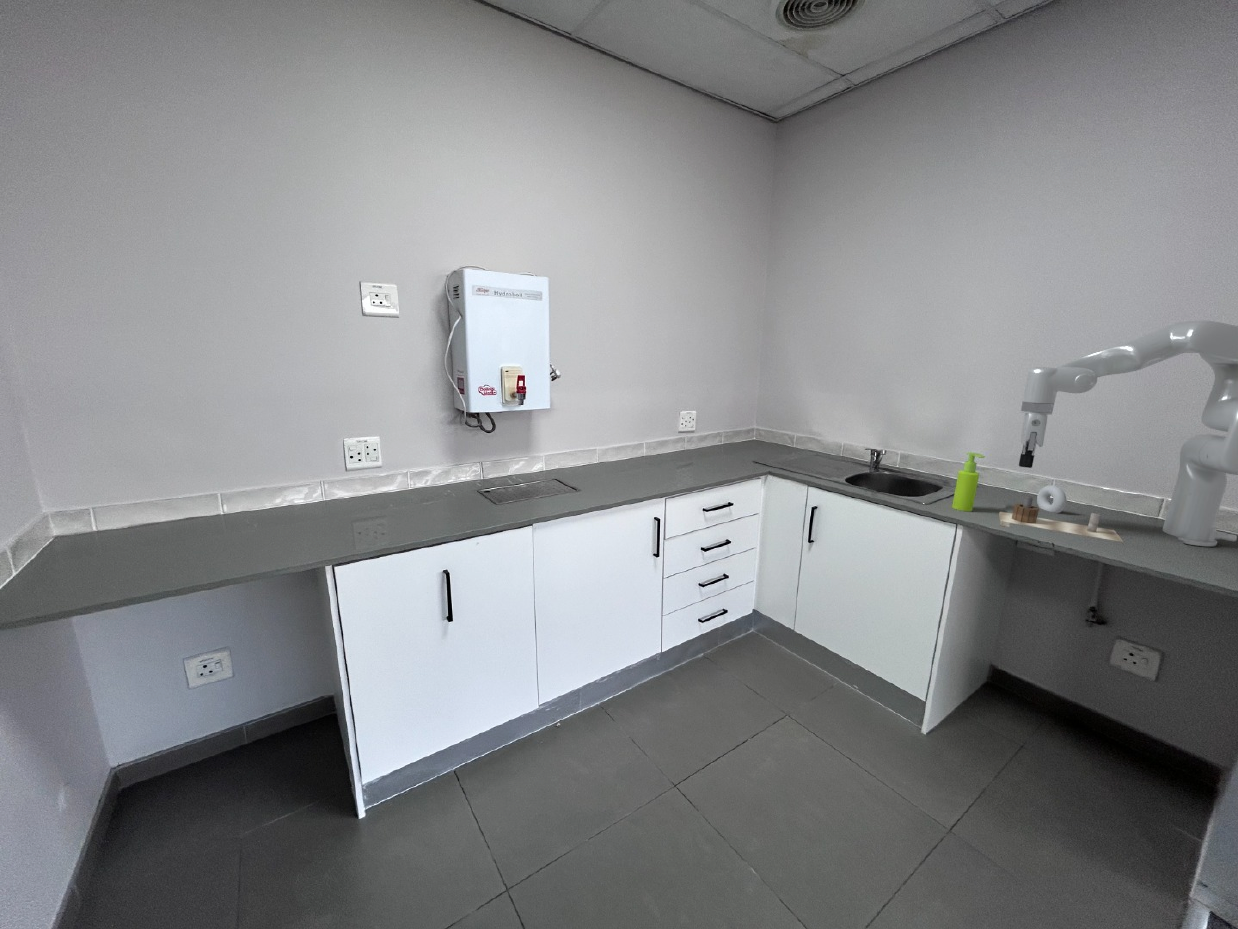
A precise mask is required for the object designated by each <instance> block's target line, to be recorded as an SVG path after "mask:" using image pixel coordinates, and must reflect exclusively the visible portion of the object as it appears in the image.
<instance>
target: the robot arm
mask: <svg viewBox="0 0 1238 929" xmlns="http://www.w3.org/2000/svg"><path fill="white" fill-rule="evenodd" d="M1195 353H1196V354H1199V356H1200V358H1201V359H1202V360H1203V361H1204V362H1206V363H1207V364H1208V365H1209V366H1210V367H1211V369H1212V371H1213V374H1214V381H1213V386H1212V388H1211V390H1210V393H1209V396H1208V398H1207V400H1206V403H1205V406H1204V407H1203V411H1202V413H1201V423H1202V424H1203V425H1204V426H1205V427H1207V428H1209V429H1212V430H1215V431H1221V432H1226V435H1225V436H1224V435H1218V434H1211V433H1210V434H1209V433H1207V434H1206V433H1204V434H1199V435H1195V436H1192V437H1190V438H1188V439H1186V441H1184V443H1183V444H1182V446H1181V448H1180V452H1179V469H1178V474H1177V479H1176V481H1175V485H1174V488H1173V492H1172V496H1171V499H1170V502H1169V506H1168V510H1167V513H1166V516H1165V519H1164V523H1163V527H1162V532H1164V533H1166V534H1168V535H1171V536H1173V537H1175V538H1177V539H1178V540H1179V541H1180V542H1181V543H1182V544H1186V545H1192V546H1197V547H1216V546H1217V544H1218V540H1224V541H1228V542H1237V535H1236V534H1231V533H1227V532H1225V531H1223V532H1222V531H1217V530H1216V529H1215V528H1214V526H1215V522H1216V519H1217V517H1218V514H1219V511H1220V508H1221V503H1222V501H1223V497H1224V496H1225V495H1224V494H1225V492H1226V488H1227V483H1228V481H1227V480H1228V479H1227V478H1228V476H1227V475H1228V474H1229V475H1233V476H1234V475H1235V476H1237V475H1238V325H1233V324H1229V323H1224V322H1219V321H1214V320H1194V321H1193V320H1191V321H1181V322H1175V323H1173V324H1170V325H1167V326H1165V327H1162V328H1160V329H1158V330H1155V331H1152V332H1150V333H1147V334H1145V335H1142V336H1140V337H1137V338H1134V339H1133V340H1130V341H1128V342H1125V343H1122V344H1119V345H1117V346H1113V347H1109V348H1107V349H1104V350H1101V351H1097V352H1095V353H1092V354H1088V355H1085V356H1082V357H1079V358H1077V359H1074V360H1070V362H1067V363H1063V364H1061V365H1059V366H1057V367H1043V366H1041V367H1032V368H1030V369H1029V370H1028V372H1027V377H1026V382H1025V383H1026V384H1025V388H1024V392H1023V397H1022V398H1023V399H1022V403H1021V408H1020V413H1022V414H1024V416H1023V417H1024V418H1023V422H1022V428H1021V435H1020V442H1021V444H1022V449H1021V453H1020V456H1019V462H1018V466H1019V467H1020V468H1025V469H1026V468H1028V469H1032V468H1033V464H1034V459H1035V453H1036V452H1035V451H1036V449H1037V445H1038V447H1039V448H1042V447H1043V446H1044V441H1045V434H1046V430H1047V423H1048V416H1049V415H1051V416H1052V415H1053V411H1054V408H1055V407H1054V406H1055V401H1056V397H1057V393H1058V392H1061V393H1062V392H1063V393H1066V394H1067V393H1069V394H1083V393H1086V392H1089V391H1090V390H1092V389H1093V388H1095V387H1096V385H1097V384H1098V383H1097V382H1098V378H1100V377H1105V376H1110V375H1111V376H1112V375H1120V374H1127V373H1132V372H1137V371H1141V370H1143V369H1145V368H1147V367H1150V366H1152V365H1156V364H1158V363H1161V362H1164V361H1166V360H1168V359H1172V358H1173V357H1176V356H1178V355H1181V354H1195Z"/></svg>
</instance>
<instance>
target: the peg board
mask: <svg viewBox="0 0 1238 929" xmlns="http://www.w3.org/2000/svg"><path fill="white" fill-rule="evenodd" d="M1033 500H1034V499H1033V497H1032V496H1031V495H1026V496H1025V497H1024V500H1023V503H1022V504H1023V507H1024V508H1031V505H1032V506H1033ZM1012 514H1013V513H1011V512H1006V511H999V515H998V518H999V525H1000V526H1001V527H1007V528H1010V527H1011V524H1015V525H1021V526H1027V527H1033V528H1039V529H1044V530H1051V531H1056V532H1062V533H1066V534H1067V533H1068V534H1074V535H1080V536H1085V537H1086V536H1087V537H1091V538H1092V537H1093V538H1097V539H1104V540H1108V541H1114V542H1115V541H1116V542H1120V543H1121V542H1122V543H1124V540H1123V539H1122V538H1121V537H1120V535H1119V534H1118V533H1117V532H1116V531H1115V529H1109V528H1103V527H1099V522H1100V519H1101V514H1100V513H1096V512H1091V513H1090V518H1089V521H1088V525H1084V524H1079V523H1073V522H1067V521H1059V520H1055V519H1047V518H1042V517H1037V520H1036V523H1024V522H1019V521H1016V520H1013V519H1012Z"/></svg>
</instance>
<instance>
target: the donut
mask: <svg viewBox="0 0 1238 929" xmlns="http://www.w3.org/2000/svg"><path fill="white" fill-rule="evenodd" d="M1051 497H1052V498H1053V500H1052V503H1051V500H1050V498H1051ZM1036 503H1037V506H1038V508H1039V509H1042V510H1044V511H1046V512H1050V513H1054V514H1060V513H1061V512H1062V511H1064V509H1065V508H1066V505H1067V495H1066V493H1065V491H1064V490H1063V489H1062V488H1061V487H1059V486H1058V485H1052V484H1051V485H1046V486H1044V487H1042V488H1041V489H1040V490H1039V492H1038V493H1037V497H1036Z"/></svg>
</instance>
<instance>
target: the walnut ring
mask: <svg viewBox="0 0 1238 929" xmlns="http://www.w3.org/2000/svg"><path fill="white" fill-rule="evenodd" d="M1023 504H1024V503H1014V505H1013V511H1012V513H1011V514H1012V519H1013V520H1016V521H1019V522H1024V523H1036V520H1037V518H1038V516H1039V515H1038V514H1039V511H1040V508H1039V506H1038V507H1037V506H1035V505H1033V504H1032V505H1031V508H1024V507H1023Z"/></svg>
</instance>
